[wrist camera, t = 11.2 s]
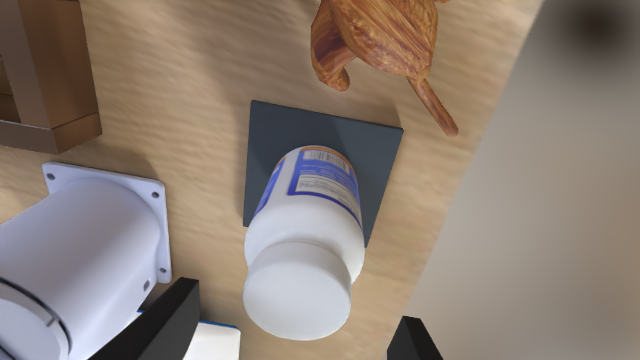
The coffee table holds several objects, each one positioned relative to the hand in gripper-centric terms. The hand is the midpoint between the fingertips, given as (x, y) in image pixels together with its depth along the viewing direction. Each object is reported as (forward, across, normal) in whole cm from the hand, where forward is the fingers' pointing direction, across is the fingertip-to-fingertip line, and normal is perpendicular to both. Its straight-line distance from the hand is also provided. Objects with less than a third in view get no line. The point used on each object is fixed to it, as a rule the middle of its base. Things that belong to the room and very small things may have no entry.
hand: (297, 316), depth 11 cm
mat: (+10, 0, 0) cm, 10 cm away
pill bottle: (+10, 0, 0) cm, 10 cm away
